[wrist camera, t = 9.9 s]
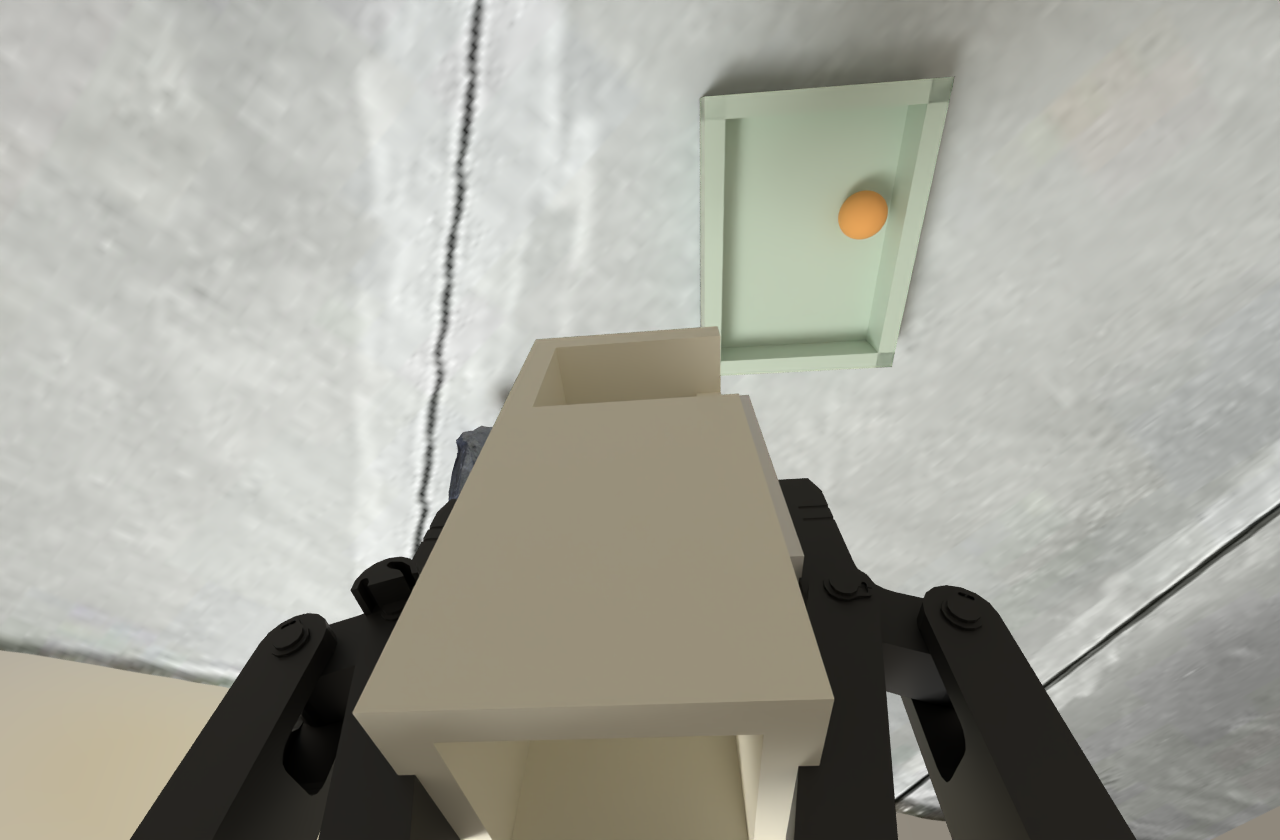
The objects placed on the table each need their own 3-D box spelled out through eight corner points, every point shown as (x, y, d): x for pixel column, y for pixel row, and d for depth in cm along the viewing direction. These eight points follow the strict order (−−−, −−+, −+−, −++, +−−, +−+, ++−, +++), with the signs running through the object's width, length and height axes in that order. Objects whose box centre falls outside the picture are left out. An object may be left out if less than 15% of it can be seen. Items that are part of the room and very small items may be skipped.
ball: (821, 212, 33) (849, 227, 31) (855, 175, 32) (887, 186, 30) (841, 239, 35) (869, 254, 33) (874, 204, 34) (905, 217, 32)
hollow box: (535, 339, 16) (352, 713, 6) (717, 326, 16) (834, 698, 6) (565, 480, 20) (475, 879, 9) (717, 471, 19) (794, 876, 9)
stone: (629, 436, 45) (625, 510, 37) (613, 486, 48) (606, 565, 40) (476, 399, 43) (434, 468, 35) (470, 453, 46) (429, 529, 38)
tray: (699, 98, 32) (704, 96, 29) (925, 80, 31) (954, 76, 28) (700, 357, 41) (704, 376, 38) (873, 348, 40) (891, 366, 37)
